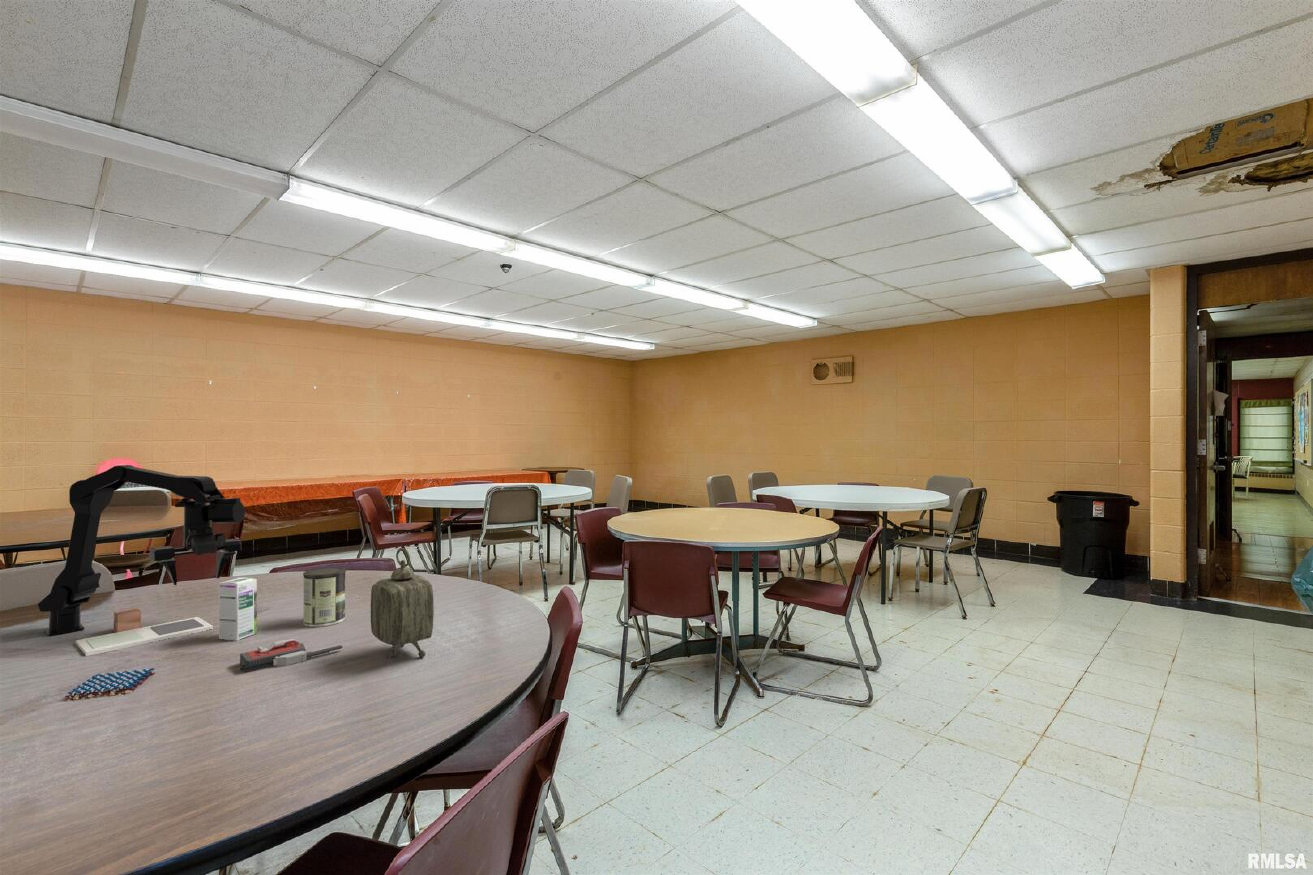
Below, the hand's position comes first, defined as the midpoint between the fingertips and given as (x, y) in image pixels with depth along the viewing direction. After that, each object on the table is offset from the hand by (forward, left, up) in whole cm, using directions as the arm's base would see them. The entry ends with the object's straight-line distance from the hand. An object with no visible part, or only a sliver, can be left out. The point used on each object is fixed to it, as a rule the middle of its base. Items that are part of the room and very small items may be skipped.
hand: (196, 581), depth 153 cm
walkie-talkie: (+44, +6, -13) cm, 47 cm away
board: (0, -10, -12) cm, 16 cm away
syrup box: (+18, +4, -12) cm, 22 cm away
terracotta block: (-10, -12, -12) cm, 20 cm away
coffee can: (+22, +23, -12) cm, 34 cm away
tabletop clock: (+62, +23, -12) cm, 67 cm away
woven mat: (+33, -22, -13) cm, 42 cm away
